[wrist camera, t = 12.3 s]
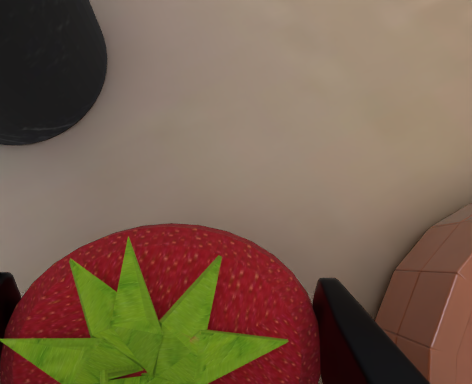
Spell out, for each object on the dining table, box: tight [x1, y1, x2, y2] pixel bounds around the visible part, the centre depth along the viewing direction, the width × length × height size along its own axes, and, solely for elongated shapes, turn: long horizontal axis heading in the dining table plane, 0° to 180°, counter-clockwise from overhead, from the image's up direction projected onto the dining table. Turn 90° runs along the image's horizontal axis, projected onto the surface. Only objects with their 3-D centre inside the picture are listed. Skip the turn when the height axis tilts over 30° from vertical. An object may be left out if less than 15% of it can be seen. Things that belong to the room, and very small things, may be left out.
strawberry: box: [0, 223, 321, 384], centre depth 10 cm, size 6×8×10 cm
